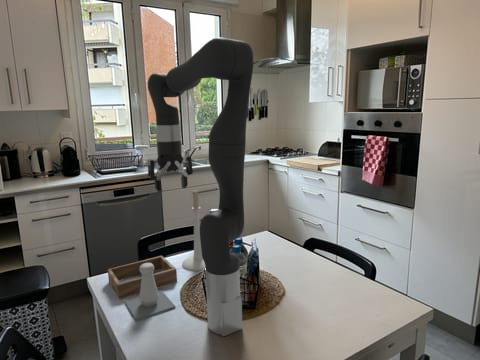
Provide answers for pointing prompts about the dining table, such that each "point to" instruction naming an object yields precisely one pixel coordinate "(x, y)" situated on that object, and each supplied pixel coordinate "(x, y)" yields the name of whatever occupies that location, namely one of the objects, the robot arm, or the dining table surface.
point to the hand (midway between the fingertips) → (171, 189)
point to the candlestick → (195, 240)
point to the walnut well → (133, 270)
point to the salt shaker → (148, 286)
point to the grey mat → (144, 312)
